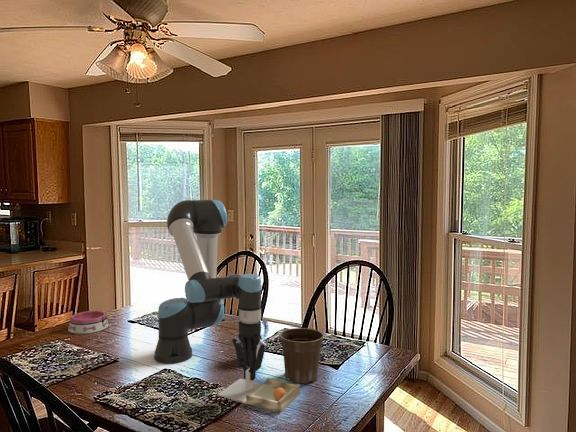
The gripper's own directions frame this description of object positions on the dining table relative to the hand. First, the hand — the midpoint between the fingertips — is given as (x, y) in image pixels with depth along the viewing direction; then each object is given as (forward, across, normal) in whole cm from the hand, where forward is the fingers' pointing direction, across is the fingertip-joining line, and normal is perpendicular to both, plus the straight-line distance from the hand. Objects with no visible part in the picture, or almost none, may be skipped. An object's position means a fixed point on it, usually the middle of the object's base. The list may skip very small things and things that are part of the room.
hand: (249, 388), depth 152 cm
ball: (-1, +12, -1) cm, 12 cm away
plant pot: (+2, +10, +20) cm, 22 cm away
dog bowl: (+3, -106, +22) cm, 109 cm away
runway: (+2, +4, 0) cm, 4 cm away
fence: (+1, +9, 0) cm, 10 cm away
